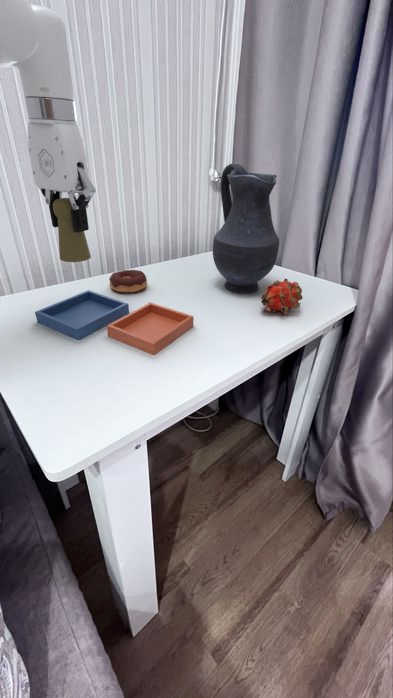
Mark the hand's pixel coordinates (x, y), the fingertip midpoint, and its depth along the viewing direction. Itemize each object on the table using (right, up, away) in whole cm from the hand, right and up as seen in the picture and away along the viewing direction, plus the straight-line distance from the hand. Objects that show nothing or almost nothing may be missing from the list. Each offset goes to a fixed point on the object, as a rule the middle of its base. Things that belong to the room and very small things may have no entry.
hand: (70, 227), depth 64 cm
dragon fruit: (+45, -14, +18) cm, 50 cm away
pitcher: (+36, -5, +31) cm, 48 cm away
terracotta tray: (+15, -20, +7) cm, 26 cm away
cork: (0, -5, +3) cm, 6 cm away
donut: (+6, -7, +26) cm, 28 cm away
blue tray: (-1, -16, +11) cm, 20 cm away
